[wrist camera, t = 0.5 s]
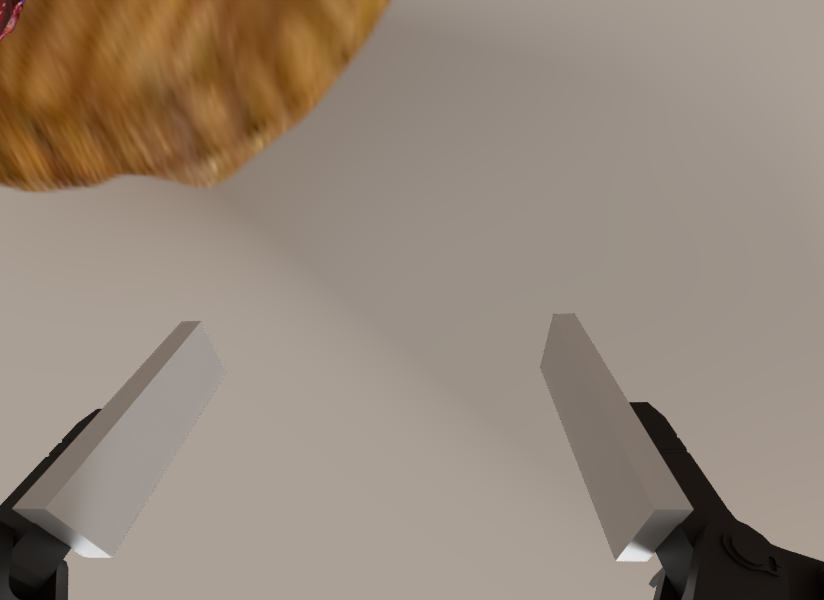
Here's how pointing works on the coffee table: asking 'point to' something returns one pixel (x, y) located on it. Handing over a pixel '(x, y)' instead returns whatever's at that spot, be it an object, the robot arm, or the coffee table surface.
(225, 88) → the coffee table surface
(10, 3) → the decorative bird figurine
